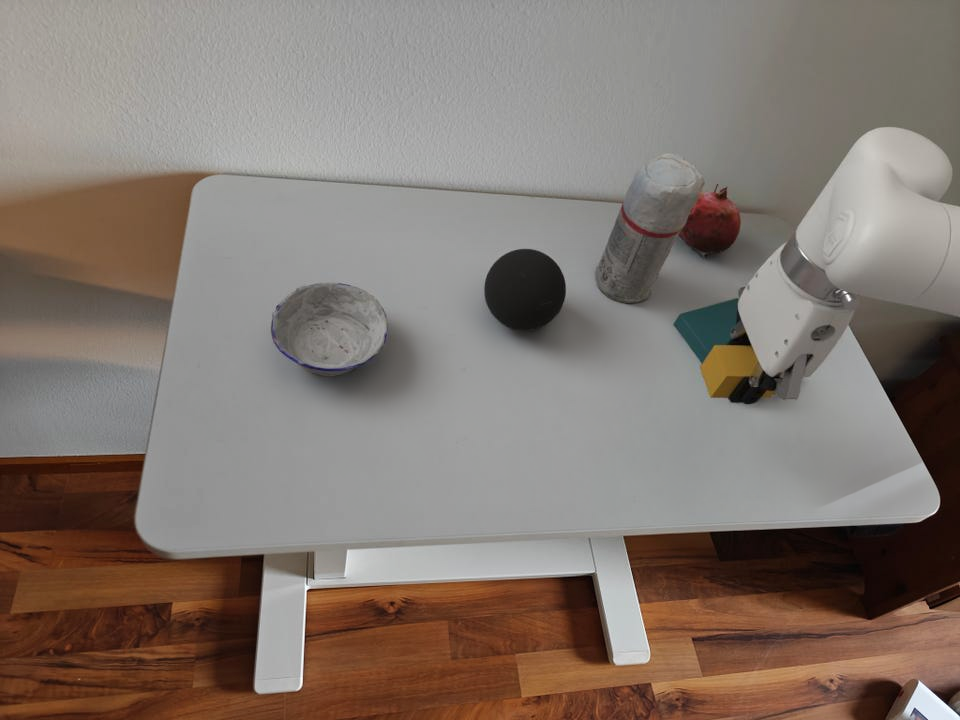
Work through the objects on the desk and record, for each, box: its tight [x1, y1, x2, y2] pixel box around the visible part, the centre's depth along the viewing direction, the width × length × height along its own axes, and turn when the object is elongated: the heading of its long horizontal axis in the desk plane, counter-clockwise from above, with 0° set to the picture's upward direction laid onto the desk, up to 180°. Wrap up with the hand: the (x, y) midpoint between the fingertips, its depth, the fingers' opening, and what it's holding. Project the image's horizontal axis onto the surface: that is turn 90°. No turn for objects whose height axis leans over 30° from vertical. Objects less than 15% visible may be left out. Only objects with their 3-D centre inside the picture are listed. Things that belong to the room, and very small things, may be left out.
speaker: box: [483, 248, 567, 332], centre depth 89 cm, size 10×10×10 cm
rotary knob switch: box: [673, 297, 738, 401], centre depth 94 cm, size 14×10×4 cm
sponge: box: [699, 345, 775, 399], centre depth 77 cm, size 7×4×4 cm, turn 96°
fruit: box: [678, 183, 742, 259], centre depth 104 cm, size 9×10×10 cm
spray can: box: [594, 152, 705, 304], centre depth 92 cm, size 8×8×20 cm
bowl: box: [270, 282, 389, 377], centre depth 84 cm, size 13×13×5 cm
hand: (735, 381), depth 78 cm, fingers closed on sponge, 4 cm apart
